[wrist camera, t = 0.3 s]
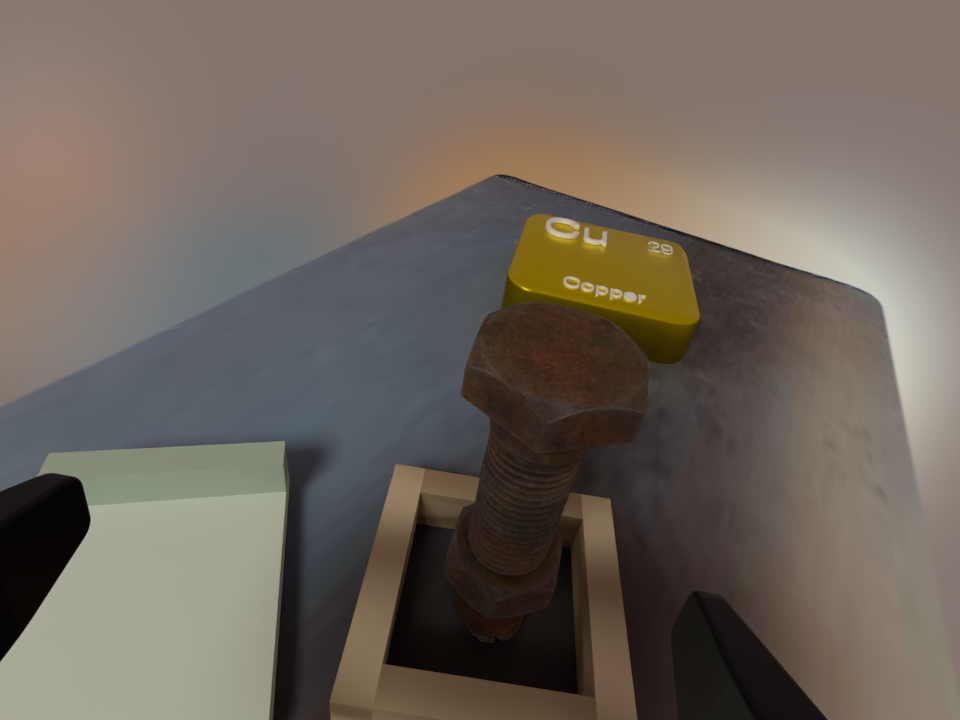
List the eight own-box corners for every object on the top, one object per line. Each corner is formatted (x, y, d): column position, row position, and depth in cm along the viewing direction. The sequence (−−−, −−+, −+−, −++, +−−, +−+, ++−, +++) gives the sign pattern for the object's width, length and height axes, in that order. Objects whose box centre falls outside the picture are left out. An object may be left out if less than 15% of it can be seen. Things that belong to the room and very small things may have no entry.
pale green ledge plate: (270, 744, 20) (262, 709, 18) (-63, 804, 18) (-115, 771, 16) (289, 483, 29) (285, 441, 27) (71, 498, 27) (48, 453, 25)
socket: (620, 774, 21) (641, 750, 19) (331, 729, 21) (329, 701, 19) (597, 528, 30) (610, 498, 28) (393, 495, 29) (395, 464, 28)
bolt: (528, 551, 28) (612, 298, 19) (567, 652, 24) (695, 398, 15) (414, 572, 26) (446, 304, 17) (437, 684, 22) (494, 418, 13)
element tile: (494, 329, 44) (504, 276, 41) (521, 250, 56) (530, 204, 53) (683, 373, 43) (707, 322, 40) (669, 282, 55) (687, 238, 52)
